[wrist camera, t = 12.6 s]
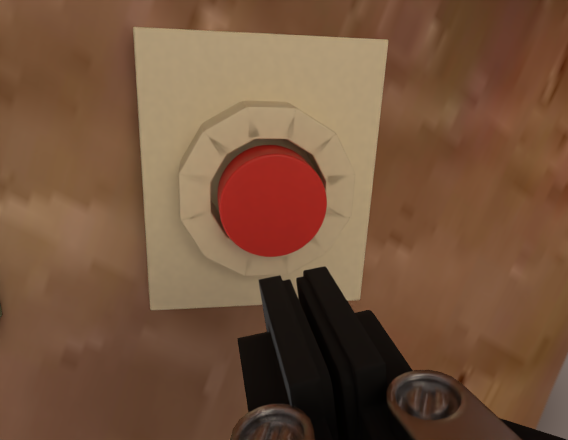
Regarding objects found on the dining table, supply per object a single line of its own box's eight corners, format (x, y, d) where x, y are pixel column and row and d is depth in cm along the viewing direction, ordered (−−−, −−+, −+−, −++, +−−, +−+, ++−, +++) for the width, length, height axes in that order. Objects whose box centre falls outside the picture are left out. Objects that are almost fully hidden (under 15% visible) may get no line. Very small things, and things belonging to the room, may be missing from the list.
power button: (313, 239, 20) (323, 256, 18) (217, 241, 19) (219, 259, 18) (319, 144, 19) (331, 154, 17) (216, 143, 18) (219, 153, 16)
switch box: (348, 281, 25) (374, 322, 21) (153, 289, 23) (145, 335, 20) (372, 39, 21) (409, 39, 17) (138, 28, 19) (125, 24, 16)
